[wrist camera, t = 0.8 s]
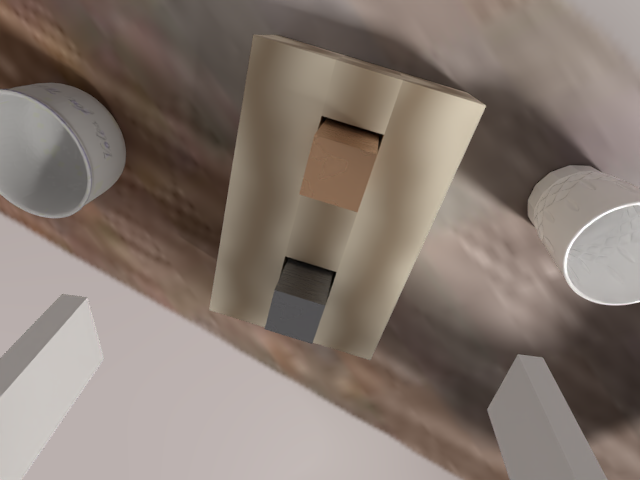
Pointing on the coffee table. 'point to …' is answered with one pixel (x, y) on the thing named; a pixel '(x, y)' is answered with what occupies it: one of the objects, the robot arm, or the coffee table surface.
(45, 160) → the teacup
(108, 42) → the coffee table surface
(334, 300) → the press block
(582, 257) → the white cup
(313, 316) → the graphite peg
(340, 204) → the brown wooden peg
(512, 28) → the coffee table surface
